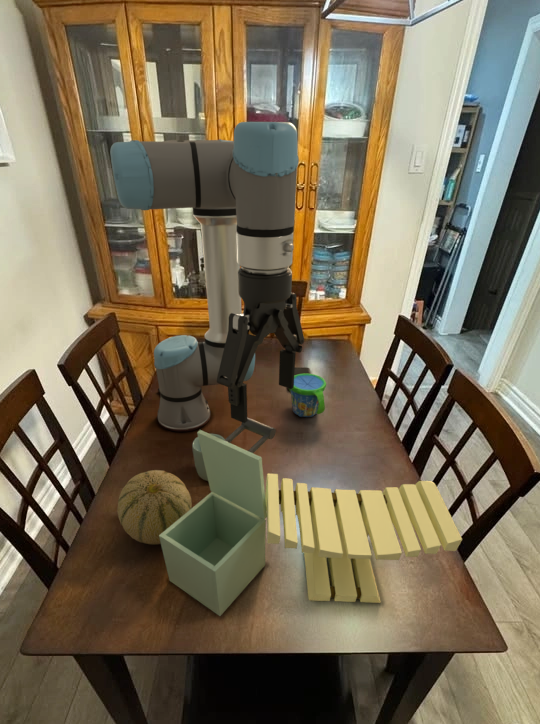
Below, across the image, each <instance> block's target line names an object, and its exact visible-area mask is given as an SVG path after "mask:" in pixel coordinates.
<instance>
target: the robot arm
mask: <svg viewBox="0 0 540 724" xmlns="http://www.w3.org/2000/svg"><path fill="white" fill-rule="evenodd" d="M109 151H110V152H109V153H110V162H111V169H112V174H113V180H114V186H115V189H116V190H115V191H116V194H117V198H118V201H119V203H120V205H121V207H123V208H124V209H126V210H140V211H149V210H166V209H167V210H170V209H171V210H172V209H191V208H192V213H193V214H192V216H193V217H194V218H195V219H196V221H198V223H199V224H200V228H201V240H202V241H201V242H202V253H203V265H204V277H205V288H206V302H207V312H208V325H209V329H208V330H207V331H206V332H205V333H204V341H199V342H198V340H197V338H196V337H194V336H192V335H186V334H182V335H173V336H170V337H168V338H165V339H163V340H162V341H160V342H159V343H158V344H157V345H156V346H155V348H154V350H153V360H154V362H153V363H154V368H155V371H156V378H157V381H158V382H157V383H158V388H157V391H158V393H159V395H160V396H159V397H160V398H159V407H158V410H157V421H158V424H159V426H160V427H162V428H163V429H165V430H167V431H171V432H177V433H183V432H185V433H186V432H193V431H195V430H197V429H201V428H203V427H204V426H206V425H207V424H208V423H209V421H210V420H211V409H210V406H209V401H208V400H207V399H206V397H205V395H204V394H203V388H202V387H207V386H215V385H216V386H217V385H220V386H224V387H227V394H228V397H227V398H228V402H229V405H230V418H231V419H233V420H235V421H238V422H240V423H242V422H243V423H246V422H247V417H248V390H247V388H248V387H247V383H245V382H248V381H250V379H252V376H253V374H254V371H255V366H256V352H257V349H258V347H259V346H260V345H261V344H263V342H264V339H265V338H267V337H269V335H270V334H274V336H275V337H276V339H277V340H278V342H279V344H280V346H281V347H282V348H283V349H281V350H279V365H278V366H279V368H278V369H279V370H278V385H279V386H281V387H284V388H286V389H288V388H289V389H292V388H294V372H295V367H296V355H297V353H299V354H300V353H301V352H302V351H303V346H302V345H304V343H305V336H304V332H303V328H302V324H301V319H300V315H299V311H298V302H297V301H298V299H297V297H298V296H297V293H294V292H292V284H293V283H292V282H293V271H292V269H291V268H290V266H292V264H293V255H294V254H293V251H294V232H295V213H296V195H297V194H296V193H297V176H298V175H297V173H298V166H299V160H300V159H299V155H298V130H297V128H296V125H294V124H293V123H292V122H288V121H287V122H286V121H240V122H239V123H237V124H236V125H235V127H234V131H233V140H225V139H221V138H220V139H196V140H194V139H193V140H192V139H191V140H189V139H188V140H187V139H185V140H183V139H182V140H178V139H169V140H168V139H167V140H163V141H161V140H160V141H158V140H157V141H153V140H152V141H151V140H150V141H148V140H147V141H143V140H142V141H141V140H138V139H135V140H133V139H132V140H130V141H117V142H116V141H115V142H114V143H113V144H112V145H111V147H110V150H109ZM242 301H243V303H244V307H243V309H242ZM242 310H243V311H242ZM250 333H251V334H250ZM289 389H288V390H289Z"/></svg>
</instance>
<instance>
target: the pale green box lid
mask: <svg viewBox="0 0 540 724" xmlns="http://www.w3.org/2000/svg"><path fill="white" fill-rule="evenodd" d="M244 430H246V431H249V432H252V433H254V434H256V435H258V436H261V437H260V439H258V440H257V441H256V443H254V444H253V445H252V446H251V447H250V448H249V449H247V450H246V449H244V448H242V447H240V446H238V445H235V444H234V443H232V442H233V440H235V438H237V437H238V436H239V435H240V434H241V433H242V432H243V431H244ZM276 433H277V429H276V428H275V427H272V426H271V425H268V424H265V423H263V422H260V421H257V420H255V419H253V418H250V417H249V416H247V422H246V423H243V422H241V424H240V425H239V426H238V427H237V428H236V429H234V430H233V432H232V433H230V434H229V435H228V436H227V437H226V438H224V439H225V440H222V439H220V438H218V437H215V436H213V435H211V434H212V433H210V432H209V433H208V432H206V431H204V430H201V429H199V430H198V431H197V433H196V434H197V437H198V438H199V443H200V447H201V451H202V456H203V460H204V464H205V469H206V473H207V477H208V481H207V482H208V486H209V490H210V492H214V493H216V494H217V495H219V496H221V497H223V498H225V499H227V500H229V501H231V502H232V503H234V504H236V505H238V506H240V507H242V508H244V509H246V510H247V511H249V512H251V513H253V514H255V515H257V516H259V517H261V518H263V519H264V520H267V510H266V500H265V492H266V488H265V479H264V478H265V477H264V469H263V458H262V456H260V455H258V454H255V453H256V451H258V450H259V448H261V446H262V445H264V444H265V443H266V442H267V441H268V440H273V439H274V438H275V436H276Z"/></svg>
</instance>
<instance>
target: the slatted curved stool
mask: <svg viewBox="0 0 540 724" xmlns="http://www.w3.org/2000/svg"><path fill="white" fill-rule="evenodd" d="M265 481H266V482H265V500H266V510H267V517H266V534H267V535H266V537H267V544H270V545H279V544H281V518H280V515H281V514H280V512H281V513H282V526H283V541H284V549H294V550H295V549H297V548H298V545H299V544H298V543H299V541H298V532H297V531H298V529H299V537H300V549H301V553H302V554H303V556H304V566H305V576H306V577H305V578H306V587H307V597H308V601H319V602H320V601H324V602H330V601H331V599H333V601H334V602H344V603H345V602H346V603H347V602H348V603H350V602H351V603H356V601H357V600H359V602H360V603H378V604H380V603H382V602H381V598H380V594H379V590H378V586H377V581H376V578H375V573H374V570H373V565H372V562H371V558H372V555H373V554H374V558H375V560H381V561H383V560H384V561H399V560H400V559H401V556H402V554H403V553H404V555H405V558H418V557H419V555H420V553H421V552H422V551H421V550H423V553H424V554H425V555H438V552H439V550H440V548H441V547H442V549H443V551H445V552H447V551H448V552H457V550H458V549H459V546H460V545H461V543H462V541H463V538H462V536H461V534H460V532H459V529H458V528H457V526H456V523H455V521H454V519H453V517H452V515H451V513H450V511H449V509H448V507H447V504H446V503H445V501H444V499H443V496H442V494H441V493H440V491H439V488H438V487H437V484H436V483H435V482H433V481H432V480H418V481H417V482H416V483H415V484H414V483H403V484H401V485H400V486H399V487H393V486H387V487H386V486H385V488H384V489H383V491H382V490H377V489H375V490H374V489H360V490H359V491H358V493H357V492H356V490H355V489H338V488H336V489H335V490H334V491H333V492H332V489H331V488H328V487H327V488H326V487H313V486H312V487H310V489H308V483H304V482H296V484H295V489H294V482H293V479H292V478H288V477H287V478H286V477H285V478H284V477H282V479H281V483H280V489H279V474H278V473H267V474H266V480H265ZM308 490H309V491H308ZM296 517H297V519H296ZM297 522H298V529H297ZM368 537H369V539H368ZM398 538H399V539H398ZM418 539H419V540H418ZM369 540H370V542H371V543H369ZM399 541H400V543H401V545H402V547H401V546H400V543H399ZM419 542H420V543H419ZM370 544H371V547H372V550H371V547H370ZM421 547H422V548H421ZM402 550H403V551H402ZM372 551H373V554H372ZM328 567H329V569H328ZM329 574H330V576H329ZM329 577H330V578H329ZM330 581H331V585H330Z"/></svg>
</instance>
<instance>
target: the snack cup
mask: <svg viewBox="0 0 540 724" xmlns="http://www.w3.org/2000/svg"><path fill="white" fill-rule="evenodd" d="M326 387H327V381H326V380H325V378H323V377H321V376H320V375H318V374H314V373H310V374H298V375H295V376H294V388H292V389H288V391H289V392H290V396H291V397H290V399H291V407H292V412H293V413H294V414H295V415H296V416H298V417H299V418H312V417H314V416H316V414H317V415H321V414H323V413H324V412H325V410H326V405H325V396H324V391H325V390H326Z"/></svg>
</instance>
